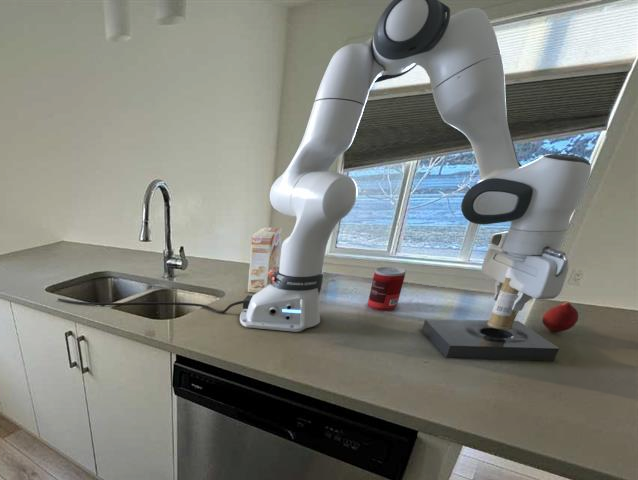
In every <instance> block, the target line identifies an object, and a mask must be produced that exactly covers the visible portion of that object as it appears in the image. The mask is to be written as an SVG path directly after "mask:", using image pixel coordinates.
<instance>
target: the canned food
mask: <svg viewBox="0 0 638 480" xmlns="http://www.w3.org/2000/svg"><path fill="white" fill-rule="evenodd" d="M406 272H407V271H406V269H404V268H401V267H398V266H397V267H396V266H380V267H377V268H376V269H375V270H374V274H373V278H372V282H371V287H370V292H369V296H368V301H367V306H368V307H369V308H370V309H373V310H376V311H383V312H385V311H393V310H395V309H396V308H397V306H398V303H399V299H400V296H401V292H402V289H403V285H404V281H405V278H406Z"/></svg>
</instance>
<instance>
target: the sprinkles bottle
mask: <svg viewBox="0 0 638 480" xmlns="http://www.w3.org/2000/svg"><path fill="white" fill-rule="evenodd" d="M514 274H515V271H514V270H512V269H508V270H507V273H506V275H505V276H506V277H507V278H505V281H504V283H503V286H502V288H501V290H500V293H499V295H498V298H497V300H496V301H495V303H494V306H493V308H492V310H491V311H492V312H491V314H490V316H489V321H488V323H487V324H488V326H490V327H492V328H496V329H510V328H512V327H513V323H514V321H516V317H517V315H518V314H519V311H514V310H512V309H510V308H509V306H510V304H511V301H515V300H516V299H517V298H518V297H519V296H518V292H519V291H518V290H516V289H514V288H512V287H510V286H509V282H510V281H511V280H510V279H513V277H514Z"/></svg>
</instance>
